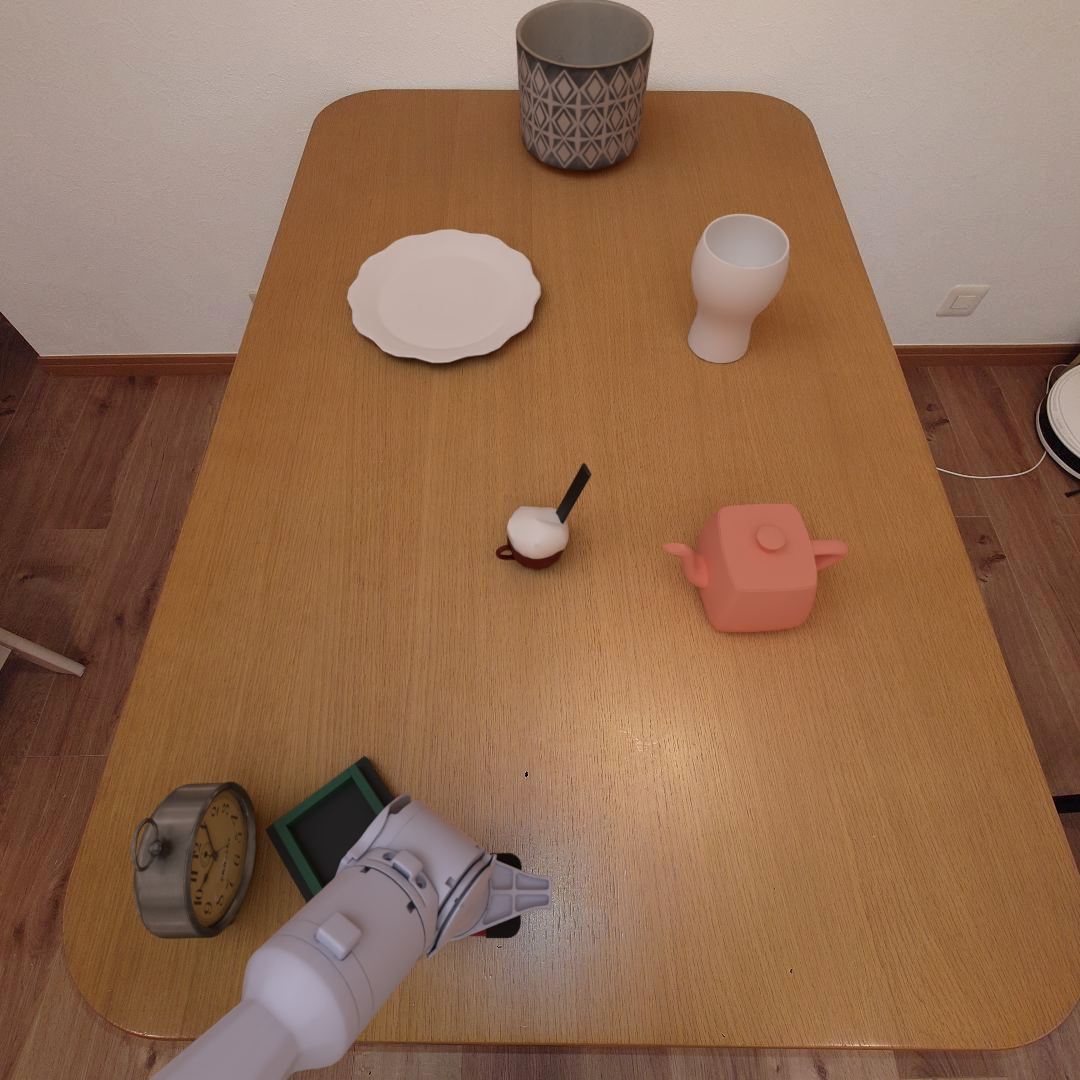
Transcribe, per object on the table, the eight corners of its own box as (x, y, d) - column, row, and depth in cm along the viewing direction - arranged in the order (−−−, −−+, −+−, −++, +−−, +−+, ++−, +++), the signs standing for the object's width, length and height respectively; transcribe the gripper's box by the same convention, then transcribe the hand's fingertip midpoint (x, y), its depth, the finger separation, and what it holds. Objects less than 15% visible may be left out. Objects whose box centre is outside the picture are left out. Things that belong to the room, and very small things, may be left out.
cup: (663, 355, 91) (683, 254, 78) (693, 303, 95) (717, 200, 82) (743, 383, 88) (778, 284, 75) (770, 328, 93) (807, 226, 80)
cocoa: (497, 579, 75) (490, 517, 64) (497, 527, 78) (490, 461, 67) (588, 576, 75) (595, 514, 64) (584, 525, 78) (590, 458, 68)
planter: (652, 124, 117) (667, 8, 103) (622, 193, 107) (635, 76, 93) (540, 104, 120) (540, -11, 106) (502, 170, 111) (496, 53, 96)
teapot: (836, 634, 71) (879, 588, 62) (657, 644, 71) (673, 598, 62) (808, 536, 77) (843, 480, 68) (642, 544, 77) (655, 489, 68)
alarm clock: (247, 939, 58) (153, 934, 44) (180, 941, 58) (65, 935, 44) (270, 798, 64) (193, 753, 50) (209, 799, 63) (115, 755, 49)
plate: (369, 390, 88) (365, 379, 86) (338, 260, 100) (335, 248, 98) (563, 347, 91) (563, 336, 90) (511, 227, 103) (510, 215, 102)
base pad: (321, 923, 59) (312, 921, 56) (269, 831, 62) (258, 826, 60) (422, 841, 62) (418, 836, 59) (367, 758, 65) (361, 751, 63)
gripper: (552, 821, 48) (550, 848, 60) (338, 820, 48) (378, 847, 60) (552, 940, 45) (550, 944, 57) (321, 939, 45) (367, 943, 57)
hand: (461, 900), depth 58 cm, fingers closed on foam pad, 5 cm apart
